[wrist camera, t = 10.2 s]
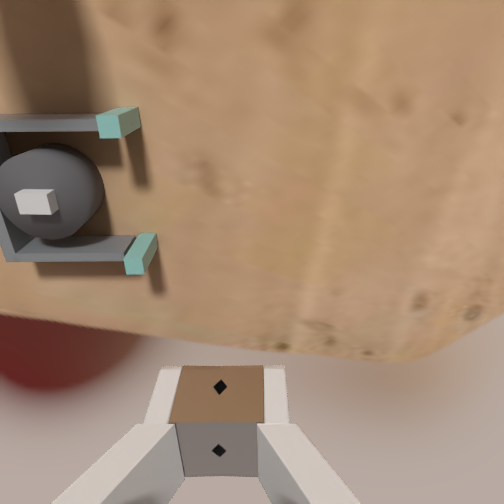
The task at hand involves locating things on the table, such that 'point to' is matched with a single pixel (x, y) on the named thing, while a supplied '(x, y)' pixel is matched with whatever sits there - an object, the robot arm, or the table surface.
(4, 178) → the dark grey rounded dome
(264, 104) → the table surface
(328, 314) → the table surface
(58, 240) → the cable holder
